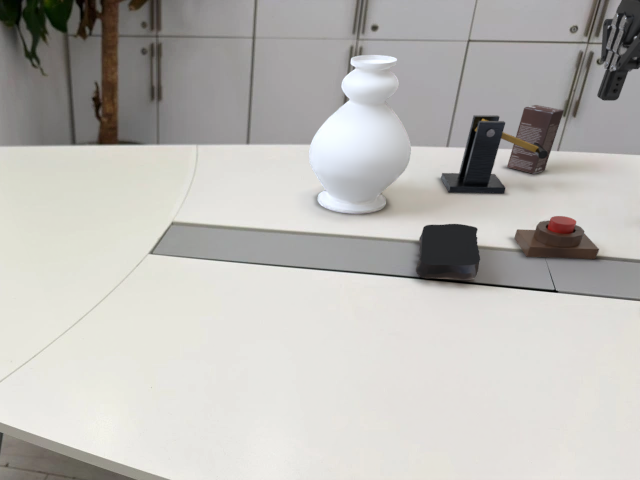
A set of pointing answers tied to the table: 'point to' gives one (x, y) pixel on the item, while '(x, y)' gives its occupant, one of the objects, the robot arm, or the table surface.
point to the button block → (555, 243)
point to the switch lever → (524, 144)
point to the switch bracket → (478, 159)
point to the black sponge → (448, 252)
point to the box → (535, 137)
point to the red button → (561, 224)
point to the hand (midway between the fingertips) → (606, 98)
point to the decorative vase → (361, 140)
